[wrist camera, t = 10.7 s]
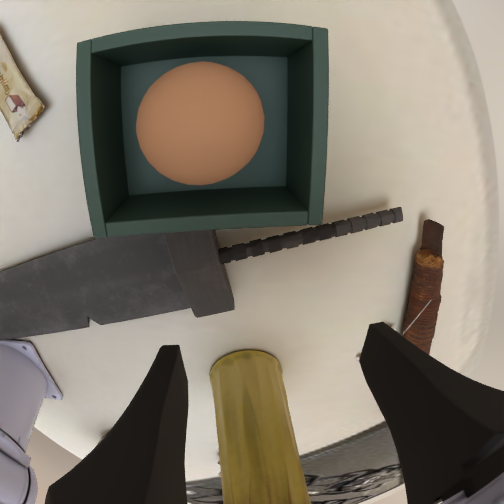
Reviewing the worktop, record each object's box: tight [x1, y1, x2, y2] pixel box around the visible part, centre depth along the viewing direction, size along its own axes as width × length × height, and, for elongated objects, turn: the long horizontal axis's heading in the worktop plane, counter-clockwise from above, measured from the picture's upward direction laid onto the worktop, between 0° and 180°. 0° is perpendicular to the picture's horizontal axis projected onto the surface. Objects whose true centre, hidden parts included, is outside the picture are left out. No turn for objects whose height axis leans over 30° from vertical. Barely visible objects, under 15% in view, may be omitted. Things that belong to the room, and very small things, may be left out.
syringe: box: [357, 300, 431, 376], centre depth 23 cm, size 10×2×2 cm
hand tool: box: [386, 219, 444, 423], centre depth 24 cm, size 26×3×4 cm, turn 11°
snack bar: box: [0, 34, 45, 142], centre depth 11 cm, size 10×2×3 cm
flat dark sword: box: [0, 207, 403, 340], centre depth 18 cm, size 7×35×2 cm, turn 102°
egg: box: [136, 61, 265, 185], centre depth 12 cm, size 5×5×7 cm
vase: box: [210, 350, 311, 504], centre depth 18 cm, size 6×6×14 cm
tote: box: [76, 21, 329, 238], centre depth 13 cm, size 10×9×5 cm
